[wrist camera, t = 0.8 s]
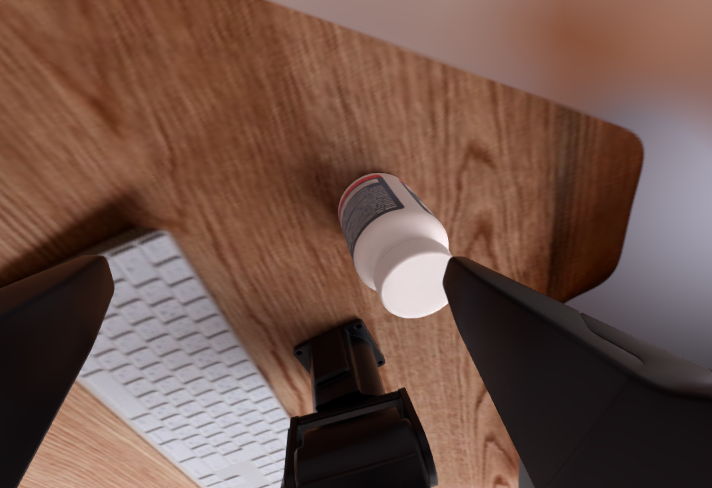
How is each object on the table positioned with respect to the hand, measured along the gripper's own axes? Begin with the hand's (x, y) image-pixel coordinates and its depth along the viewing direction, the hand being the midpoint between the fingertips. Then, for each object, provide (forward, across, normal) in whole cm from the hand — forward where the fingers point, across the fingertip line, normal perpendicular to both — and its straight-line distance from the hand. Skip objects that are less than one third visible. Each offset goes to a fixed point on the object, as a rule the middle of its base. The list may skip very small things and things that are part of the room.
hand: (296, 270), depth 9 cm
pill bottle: (+13, -6, +4) cm, 15 cm away
